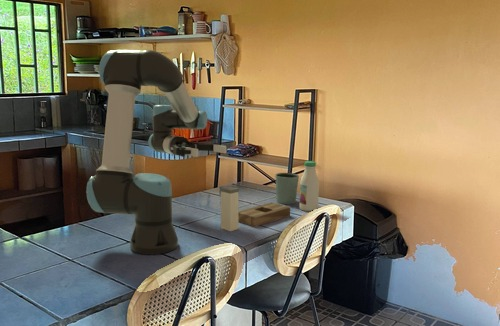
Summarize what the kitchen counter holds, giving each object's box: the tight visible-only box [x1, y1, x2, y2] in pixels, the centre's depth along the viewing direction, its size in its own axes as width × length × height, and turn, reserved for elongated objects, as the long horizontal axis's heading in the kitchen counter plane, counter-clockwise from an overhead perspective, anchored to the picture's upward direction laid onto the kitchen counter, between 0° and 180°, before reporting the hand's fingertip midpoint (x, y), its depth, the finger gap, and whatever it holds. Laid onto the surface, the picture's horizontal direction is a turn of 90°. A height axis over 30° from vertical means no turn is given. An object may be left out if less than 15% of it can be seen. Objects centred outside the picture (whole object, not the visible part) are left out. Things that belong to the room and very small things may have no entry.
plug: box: [220, 185, 240, 232], centre depth 176 cm, size 5×4×15 cm
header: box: [238, 202, 291, 228], centre depth 189 cm, size 10×20×4 cm, turn 135°
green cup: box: [275, 172, 300, 205], centre depth 213 cm, size 10×10×12 cm
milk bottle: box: [298, 160, 320, 212], centre depth 201 cm, size 8×8×20 cm
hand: (212, 151), depth 179 cm, fingers open, 13 cm apart
